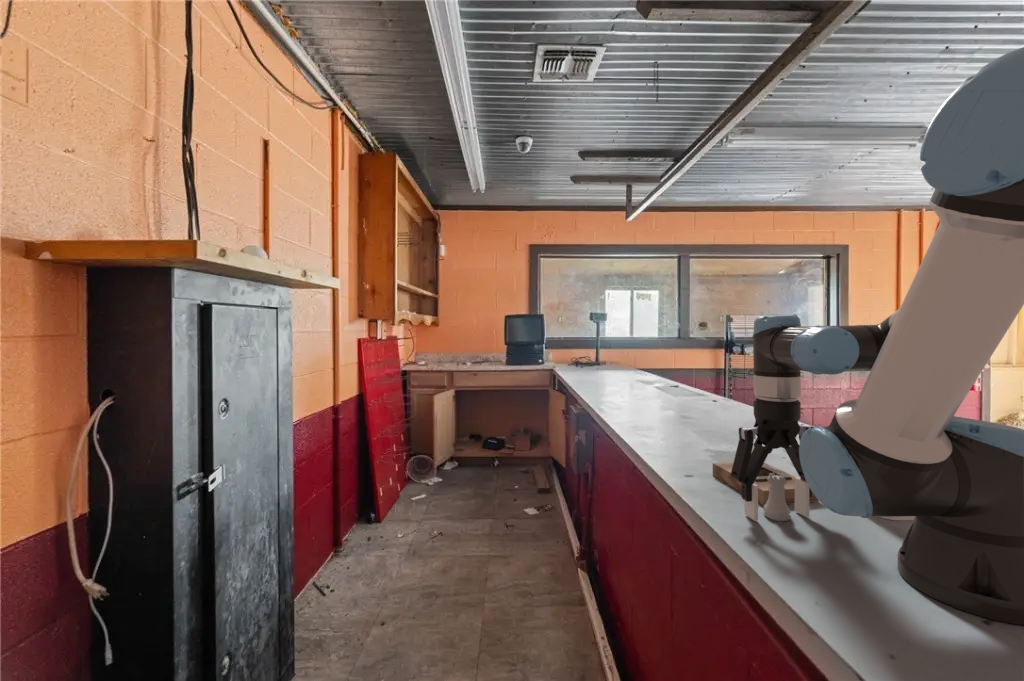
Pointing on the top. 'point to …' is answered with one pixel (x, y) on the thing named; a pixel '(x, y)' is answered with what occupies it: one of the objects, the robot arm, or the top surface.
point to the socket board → (759, 481)
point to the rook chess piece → (777, 499)
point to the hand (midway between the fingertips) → (776, 515)
